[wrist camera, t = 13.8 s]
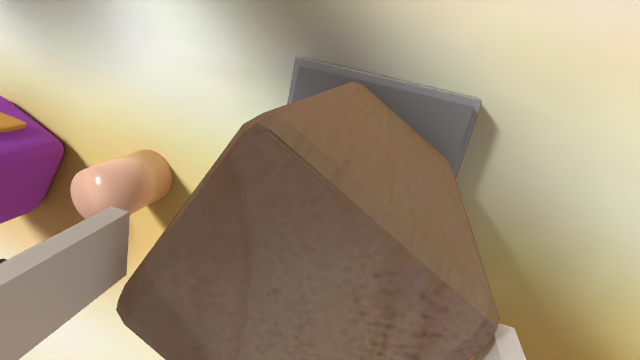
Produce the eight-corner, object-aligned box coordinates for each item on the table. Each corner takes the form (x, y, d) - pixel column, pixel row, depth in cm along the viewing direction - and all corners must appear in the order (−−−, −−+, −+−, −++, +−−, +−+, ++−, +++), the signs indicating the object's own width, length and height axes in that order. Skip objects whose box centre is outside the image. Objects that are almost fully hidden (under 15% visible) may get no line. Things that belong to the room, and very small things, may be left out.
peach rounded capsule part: (128, 143, 39) (70, 161, 33) (175, 157, 38) (125, 177, 32) (125, 191, 41) (70, 216, 34) (170, 204, 40) (122, 233, 34)
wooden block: (275, 171, 33) (94, 315, 15) (354, 74, 30) (249, 102, 11) (366, 251, 34) (304, 495, 15) (456, 164, 30) (522, 341, 11)
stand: (303, 57, 33) (293, 57, 30) (477, 97, 31) (483, 101, 28) (274, 211, 38) (263, 224, 35) (424, 255, 36) (425, 272, 33)
